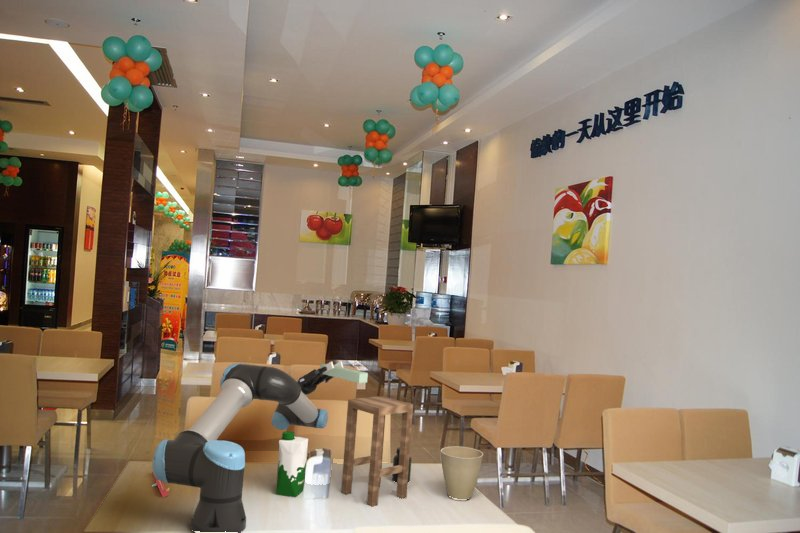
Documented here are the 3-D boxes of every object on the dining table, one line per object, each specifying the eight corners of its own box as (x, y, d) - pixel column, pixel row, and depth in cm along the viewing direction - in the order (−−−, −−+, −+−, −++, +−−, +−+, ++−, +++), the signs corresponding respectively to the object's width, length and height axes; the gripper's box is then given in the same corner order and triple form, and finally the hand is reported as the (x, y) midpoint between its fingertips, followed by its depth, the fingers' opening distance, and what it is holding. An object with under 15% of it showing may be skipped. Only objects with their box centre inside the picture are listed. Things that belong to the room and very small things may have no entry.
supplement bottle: (413, 481, 228) (415, 448, 229) (403, 485, 222) (405, 452, 223) (398, 476, 232) (400, 445, 232) (388, 480, 226) (390, 448, 227)
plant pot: (447, 487, 223) (450, 443, 224) (485, 496, 217) (488, 451, 217) (430, 498, 210) (434, 452, 211) (471, 508, 203) (474, 460, 204)
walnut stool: (371, 506, 198) (379, 408, 199) (341, 492, 210) (348, 399, 211) (406, 497, 209) (413, 404, 211) (375, 484, 221) (382, 396, 222)
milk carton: (282, 487, 211) (286, 429, 212) (307, 490, 209) (311, 432, 210) (272, 495, 202) (276, 434, 203) (297, 498, 201) (302, 437, 201)
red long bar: (156, 500, 193) (171, 494, 195) (154, 494, 193) (170, 488, 195) (147, 477, 214) (161, 472, 216) (146, 472, 214) (159, 466, 216)
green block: (367, 382, 226) (367, 373, 226) (358, 383, 223) (359, 373, 223) (327, 372, 243) (328, 363, 243) (319, 373, 240) (320, 364, 240)
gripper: (284, 378, 245) (317, 356, 231) (319, 376, 257) (351, 355, 243) (288, 396, 242) (321, 374, 228) (323, 393, 254) (356, 372, 240)
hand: (337, 364), depth 236 cm, fingers closed on green block, 4 cm apart
